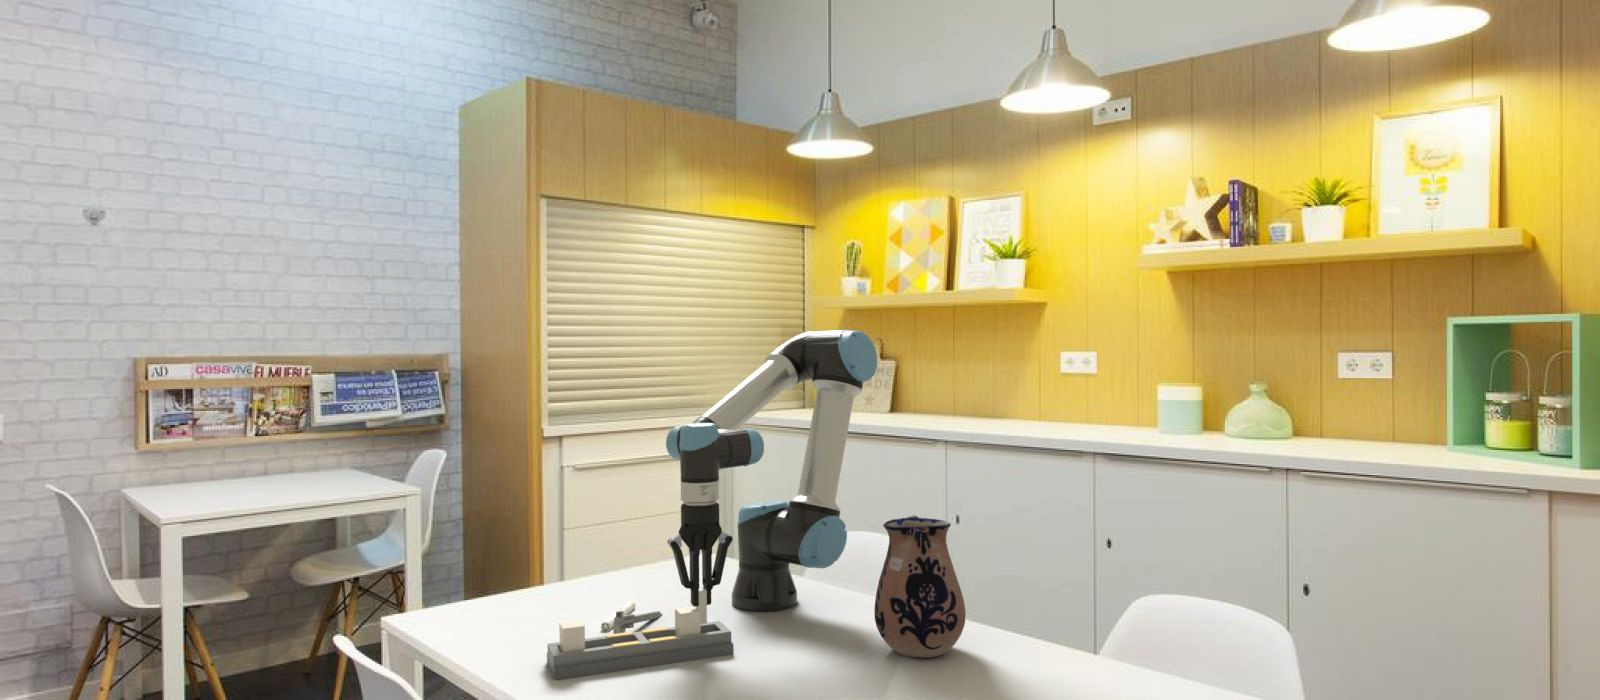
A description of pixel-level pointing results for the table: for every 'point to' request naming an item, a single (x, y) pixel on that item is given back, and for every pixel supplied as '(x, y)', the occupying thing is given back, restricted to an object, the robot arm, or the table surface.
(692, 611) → the tab
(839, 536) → the robot arm
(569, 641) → the tab
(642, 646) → the switch board
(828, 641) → the table surface
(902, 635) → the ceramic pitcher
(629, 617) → the caliper
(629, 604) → the marker
